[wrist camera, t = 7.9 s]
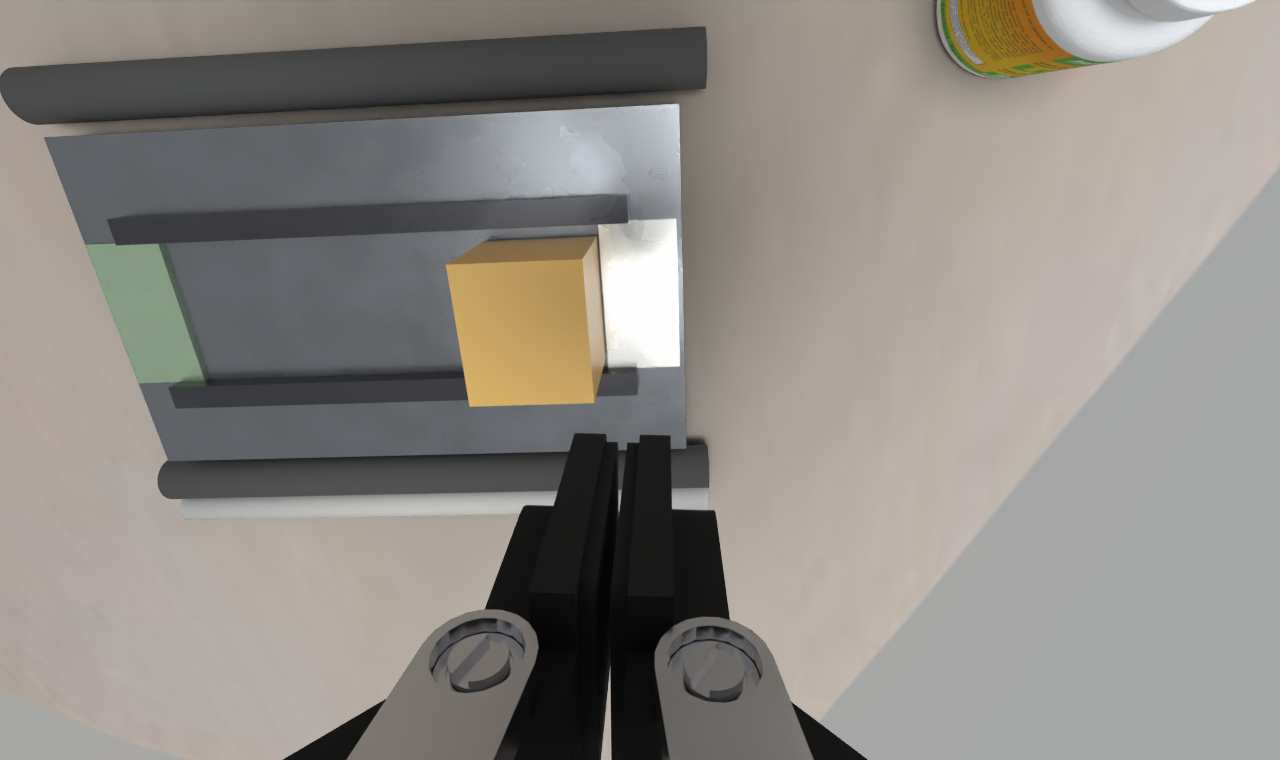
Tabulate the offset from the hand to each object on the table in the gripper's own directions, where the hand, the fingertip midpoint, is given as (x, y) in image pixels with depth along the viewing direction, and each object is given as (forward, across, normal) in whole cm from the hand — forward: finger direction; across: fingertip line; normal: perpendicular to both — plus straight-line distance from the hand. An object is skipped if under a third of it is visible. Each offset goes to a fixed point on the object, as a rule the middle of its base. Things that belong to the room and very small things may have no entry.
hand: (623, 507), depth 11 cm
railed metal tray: (+17, +10, +1) cm, 20 cm away
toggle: (+15, +4, 0) cm, 15 cm away
